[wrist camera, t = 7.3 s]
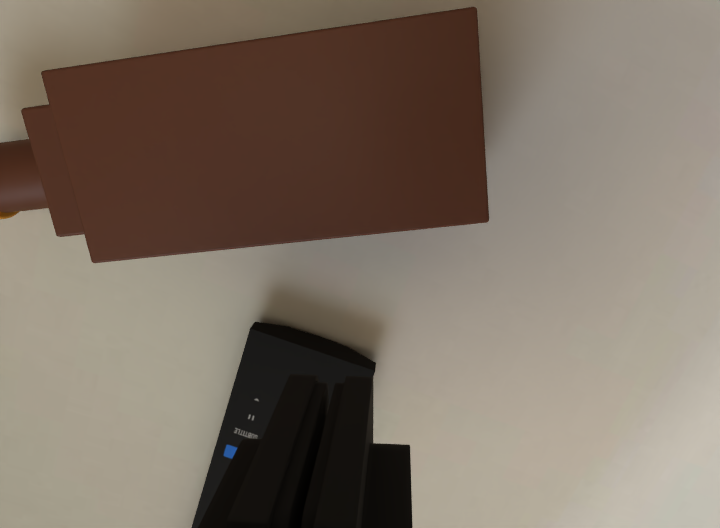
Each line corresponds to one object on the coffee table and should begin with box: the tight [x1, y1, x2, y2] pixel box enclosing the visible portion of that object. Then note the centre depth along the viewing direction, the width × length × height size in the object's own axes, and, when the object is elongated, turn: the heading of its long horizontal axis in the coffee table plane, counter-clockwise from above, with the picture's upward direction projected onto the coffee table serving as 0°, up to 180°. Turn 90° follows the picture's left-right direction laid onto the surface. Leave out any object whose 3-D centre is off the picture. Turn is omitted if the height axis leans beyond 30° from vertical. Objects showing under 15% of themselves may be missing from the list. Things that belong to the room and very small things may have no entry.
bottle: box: [0, 7, 489, 263], centre depth 17 cm, size 6×6×18 cm
